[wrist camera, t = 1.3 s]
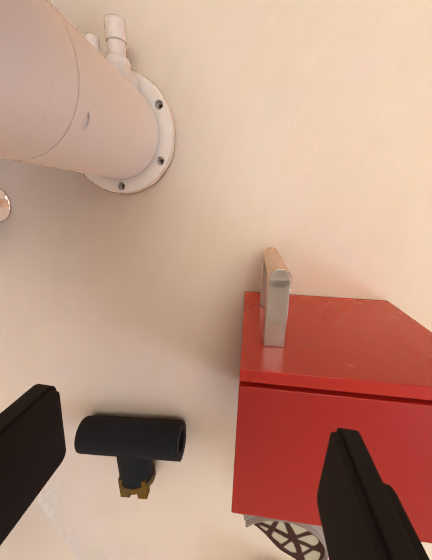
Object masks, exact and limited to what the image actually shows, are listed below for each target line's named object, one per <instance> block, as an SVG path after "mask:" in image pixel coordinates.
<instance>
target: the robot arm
mask: <svg viewBox="0 0 432 560" xmlns="http://www.w3.org/2000/svg"><path fill="white" fill-rule="evenodd" d="M104 26H105V40H106V42H107V55H105V56H103V55H102V54H101V53H100V46H99V38H98V36H96V35H95V34H92V33H84V35H82V34H81V33H80V32H79V31H78V30H77V29H76V28H75V27H74V26H73V25H72V24H71V23H70V22H69V21H68V20H67V19H66V18H65V17H64V16H63V15H62V14H61V13H60V12H59V11H58V10H57V9H56V8H55V7H54V6H53V5H52V4H51V3H50V2H49V1H48V0H0V158H4V159H10V160H15V161H21V162H26V163H32V164H37V165H43V166H49V167H54V168H60V169H65V170H71V171H77V172H82V173H83V174H84V175H85V176H86V177H87V178H88V179H89V180H90V181H91V182H93V183H94V184H96V185H97V186H99V187H100V188H103V189H105V190H108V191H111V192H116V193H135V192H139V191H142V190H145V189H147V188H148V187H150V186H152V185H153V184H155V183H156V182H157V181H158V180H159V179H160V178H161V177H162V175H163V174H164V173H165V171H166V170H167V168H168V166H169V164H170V162H171V159H172V156H173V152H174V148H175V137H176V135H175V124H174V120H173V116H172V113H171V110H170V108H169V106H168V104H167V101H166V100H165V98H164V97H163V95H162V94H161V92H160V91H159V90H158V89H157V88H156V86H155V85H154V84H153V83H152V82H151V81H149V80H148V79H147V78H146V77H145V76H143V75H141V74H139V73H138V72H136V71H134V70H131V62H130V60H129V59H127V58H126V25H125V21H124V19H123V18H121V17H120V16H118V15H115V14H108V15H105V17H104ZM160 105H163V107H162V108H161V109H160V108H159V107H160ZM161 160H164V163H163V164H161ZM124 184H125V188H123V185H124ZM65 453H66V446H65V437H64V429H63V420H62V412H61V403H60V395H59V392H58V391H56V388H55V387H54V386H49V385H42V384H36V385H34V386H33V387H32V388H30V389H29V390H28V391H27V392H26V393H24V394H23V395H22V396H21V397H20V398H18V399H17V400H16V401H15V402H14V403H12V404H11V405H10V406H9V407H8V408H6V409H5V410H4V411H3V412H2V413H0V545H1V544H2V543H3V541H4V540H5V539H6V537H7V536H8V534H9V533H10V532H11V530H12V529H13V528H14V526H15V525H16V524H17V522H18V521H19V520H20V518H21V517H22V515H23V514H24V513H25V511H26V510H27V509H28V507H29V506H30V505H31V503H32V502H33V501H34V499H35V498H36V496H37V495H38V494H39V492H40V491H41V490H42V488H43V487H44V486H45V484H46V483H47V481H48V480H49V479H50V477H51V476H52V475H53V473H54V472H55V471H56V469H57V468H58V467H59V465H60V464H61V462H62V461H63V459H64V457H65ZM317 505H318V510H319V515H320V520H321V524H322V529H323V533H324V538H325V543H326V547H327V552H328V556H329V560H429V558H428V556H427V554H426V552H425V550H424V548H423V546H422V544H421V542H420V540H419V538H418V536H417V534H416V532H415V530H414V528H413V526H412V524H411V522H410V520H409V518H408V516H407V514H406V512H405V510H404V508H403V506H402V504H401V502H400V500H399V498H398V496H397V494H396V492H395V491H394V489H393V488H392V487H391V486H390V485H389V484H386V483H383V481H382V479H381V477H380V475H379V473H378V471H377V469H376V466H375V464H374V462H373V460H372V458H371V456H370V454H369V452H368V449H367V447H366V445H365V443H364V441H363V439H362V437H361V435H360V433H359V432H358V431H357V430H352V429H345V428H337V430H336V432H331V434H330V438H329V442H328V447H327V451H326V456H325V460H324V465H323V469H322V474H321V478H320V483H319V487H318V492H317Z"/></svg>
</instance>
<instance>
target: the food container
mask: <svg viewBox="0 0 432 560" xmlns="http://www.w3.org/2000/svg"><path fill="white" fill-rule="evenodd" d="M244 520H245V521H246V527H248V526H251V525H253V524H254V525H256V526H257V527H258V528H259V529H260V530H262V531H263V532H264V533H265V534H266V535H267V536H268V537H269V538H270V540H271V541H272V542H273V543H274V544H275V545H276V546H277V547H278V548H279V549H280V550H282V551H283V552H285V553H287V554H288V555H290V556H292V557H293V558H295V559H296V560H328V552H327V547H326V543H325V538H324V533H323V529H322V526H317V525H310V524H304V523H297V522H291V521H285V520H278V519H272V518H265V517H259V516H252V515H246V514H244Z"/></svg>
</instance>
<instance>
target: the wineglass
mask: <svg viewBox="0 0 432 560" xmlns="http://www.w3.org/2000/svg"><path fill="white" fill-rule="evenodd" d="M10 210H11V205H10V201H9V198H8V197H7V195H6V194H5V192H4V191H3V190H1V189H0V221H3V220H5V219H6V218H7V217H8V216H9V214H10Z"/></svg>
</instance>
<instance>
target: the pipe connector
mask: <svg viewBox="0 0 432 560" xmlns="http://www.w3.org/2000/svg"><path fill="white" fill-rule="evenodd" d="M185 440H186V425H185V422H184V421H170V420H154V419H137V418H120V417H104V416H87V417H85V418H84V419H83V420H82V422H81V423H80V425H79V427H78V429H77V432H76V436H75V444H74V445H75V450H76V452H77V453H79V454H91V455H103V456H116V457H117V463H118V469H119V475H120V476H119V479H118V482H119V488H120V494H121V497H130V495H134V494H137V495H138V498H139V499H147V497H148V494H149V491H150V485H151V484H152V483H153V481H154V479H155V475H156V471H155V463H154V460H166V461H178V462H180V461H181V459H182V456H183V453H184V448H185Z"/></svg>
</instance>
